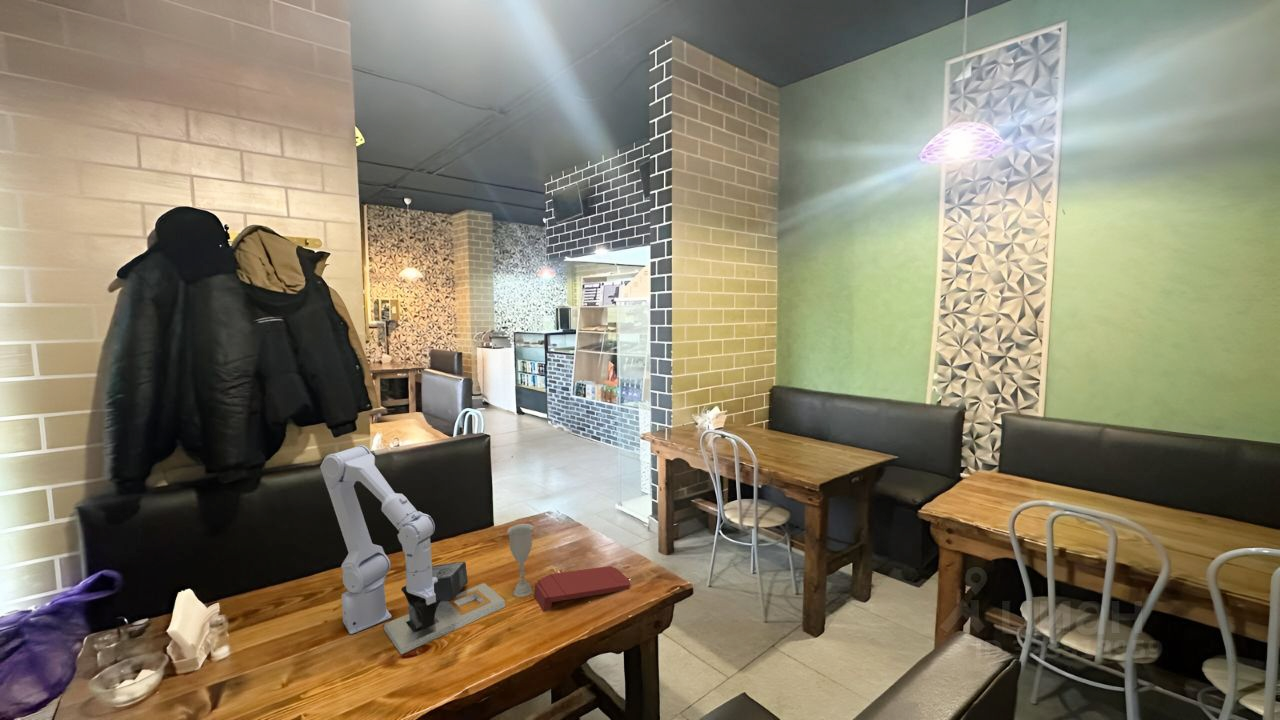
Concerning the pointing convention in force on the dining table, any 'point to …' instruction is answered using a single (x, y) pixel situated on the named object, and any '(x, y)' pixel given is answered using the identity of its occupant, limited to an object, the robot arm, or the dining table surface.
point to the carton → (578, 585)
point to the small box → (449, 579)
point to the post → (415, 616)
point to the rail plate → (445, 618)
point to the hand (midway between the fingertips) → (422, 619)
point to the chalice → (521, 553)
